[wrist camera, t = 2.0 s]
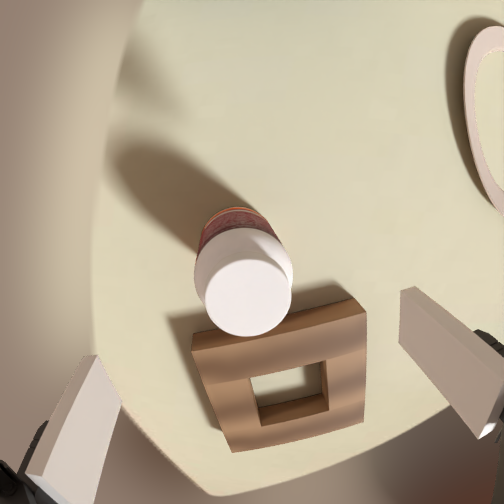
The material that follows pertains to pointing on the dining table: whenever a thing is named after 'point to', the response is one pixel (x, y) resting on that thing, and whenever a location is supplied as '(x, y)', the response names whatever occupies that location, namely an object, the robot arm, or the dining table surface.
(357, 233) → the dining table surface
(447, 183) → the dining table surface
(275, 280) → the pill bottle
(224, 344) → the socket block
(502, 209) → the plate
